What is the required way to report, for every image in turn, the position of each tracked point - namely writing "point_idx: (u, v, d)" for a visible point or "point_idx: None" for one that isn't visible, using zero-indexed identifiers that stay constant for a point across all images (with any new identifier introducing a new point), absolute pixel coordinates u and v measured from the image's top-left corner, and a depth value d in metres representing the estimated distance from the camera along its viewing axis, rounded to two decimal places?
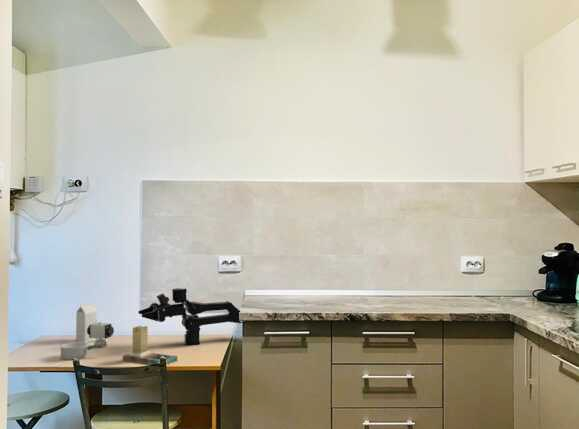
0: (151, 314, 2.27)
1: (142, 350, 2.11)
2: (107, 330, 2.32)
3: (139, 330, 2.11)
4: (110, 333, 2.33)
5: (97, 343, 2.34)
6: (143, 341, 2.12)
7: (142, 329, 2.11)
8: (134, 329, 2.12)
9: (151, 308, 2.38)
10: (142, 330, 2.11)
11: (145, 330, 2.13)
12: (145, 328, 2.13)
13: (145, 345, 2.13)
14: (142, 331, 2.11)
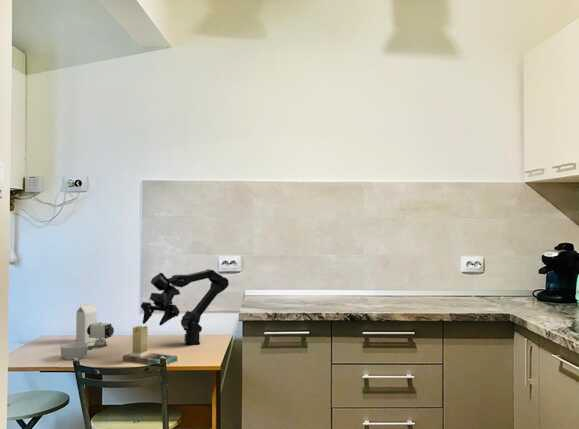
0: (166, 317, 2.21)
1: (142, 350, 2.11)
2: (107, 330, 2.32)
3: (139, 330, 2.11)
4: (110, 333, 2.33)
5: (97, 343, 2.34)
6: (143, 341, 2.12)
7: (142, 329, 2.11)
8: (134, 329, 2.12)
9: (148, 310, 2.26)
10: (142, 330, 2.11)
11: (145, 330, 2.13)
12: (145, 328, 2.13)
13: (145, 345, 2.13)
14: (142, 331, 2.11)
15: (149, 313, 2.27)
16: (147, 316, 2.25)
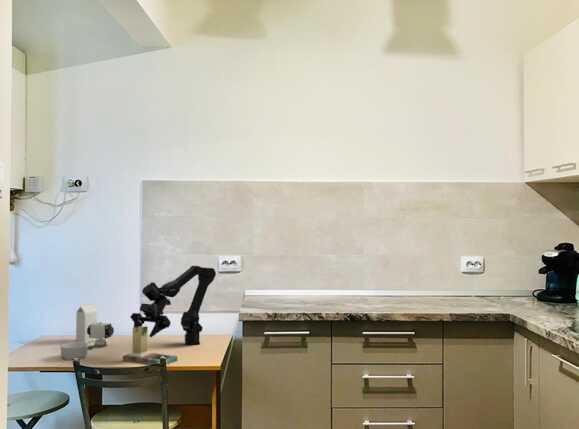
0: (156, 328, 2.15)
1: (142, 350, 2.11)
2: (107, 330, 2.32)
3: (139, 330, 2.11)
4: (110, 333, 2.33)
5: (97, 343, 2.34)
6: (143, 341, 2.12)
7: (142, 329, 2.11)
8: (134, 329, 2.12)
9: (138, 321, 2.20)
10: (142, 330, 2.11)
11: (145, 330, 2.13)
12: (145, 328, 2.13)
13: (145, 345, 2.13)
14: (142, 331, 2.11)
15: (139, 324, 2.21)
16: None
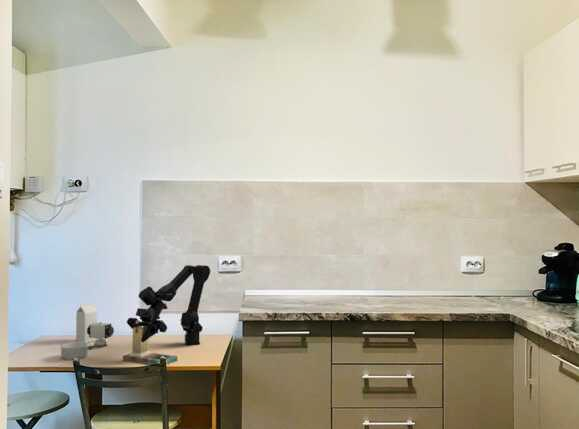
0: (148, 333, 2.13)
1: (142, 350, 2.11)
2: (107, 330, 2.32)
3: (139, 330, 2.11)
4: (110, 333, 2.33)
5: (97, 343, 2.34)
6: None
7: (142, 329, 2.11)
8: (134, 329, 2.12)
9: None
10: (142, 330, 2.11)
11: (145, 330, 2.13)
12: (145, 328, 2.13)
13: (145, 345, 2.13)
14: (142, 331, 2.11)
15: None
16: None
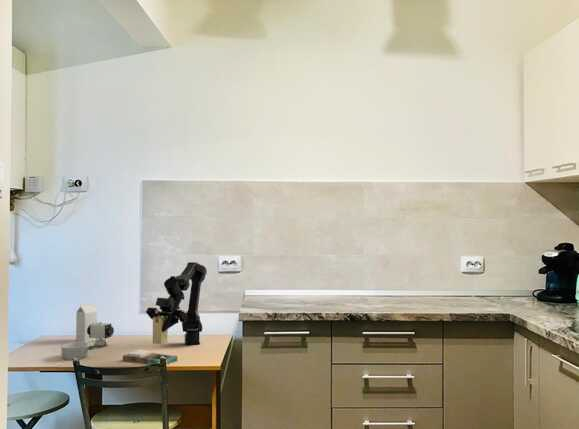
0: (169, 322, 2.09)
1: (162, 340, 2.07)
2: (107, 330, 2.32)
3: (159, 320, 2.07)
4: (110, 333, 2.33)
5: (97, 343, 2.34)
6: None
7: (162, 319, 2.07)
8: (154, 319, 2.08)
9: None
10: (162, 320, 2.07)
11: (165, 320, 2.09)
12: (165, 318, 2.09)
13: (165, 335, 2.09)
14: (162, 321, 2.07)
15: None
16: None
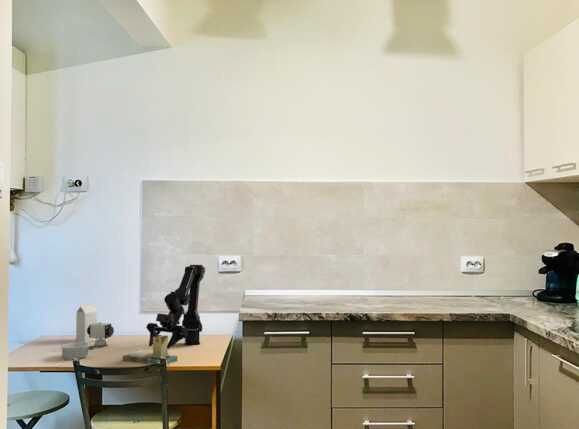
0: (173, 339, 2.08)
1: None
2: (107, 330, 2.32)
3: (159, 339, 2.06)
4: (110, 333, 2.33)
5: (97, 343, 2.34)
6: (164, 351, 2.07)
7: (162, 338, 2.07)
8: (154, 338, 2.07)
9: (154, 332, 2.13)
10: (162, 339, 2.07)
11: (165, 339, 2.09)
12: (165, 337, 2.09)
13: (166, 355, 2.09)
14: (162, 340, 2.07)
15: (155, 335, 2.14)
16: None
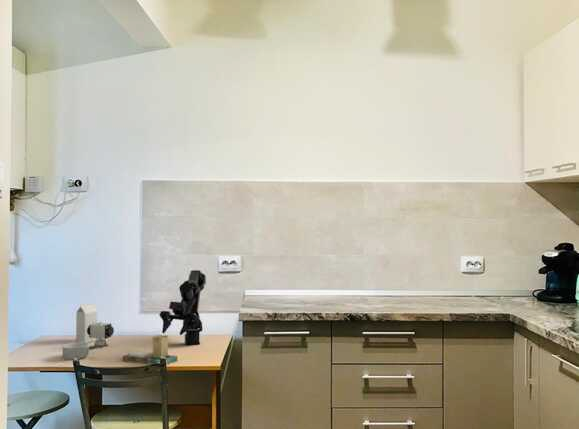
0: (186, 326, 2.17)
1: None
2: (107, 330, 2.32)
3: (159, 339, 2.06)
4: (110, 333, 2.33)
5: (97, 343, 2.34)
6: (164, 351, 2.08)
7: (162, 338, 2.07)
8: (154, 338, 2.07)
9: (167, 319, 2.22)
10: (162, 339, 2.07)
11: (165, 339, 2.09)
12: (165, 337, 2.09)
13: (166, 355, 2.09)
14: (162, 340, 2.07)
15: (168, 322, 2.23)
16: (166, 325, 2.21)
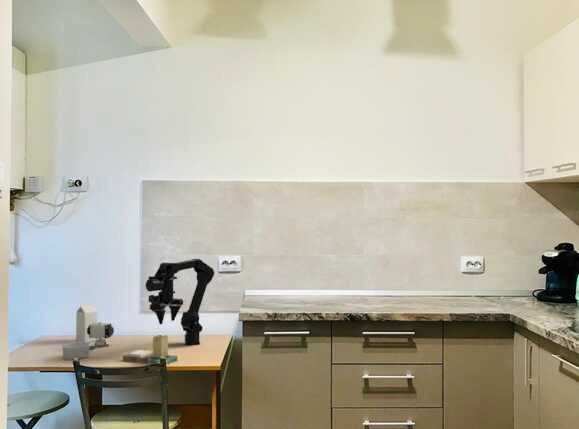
0: (158, 315, 2.24)
1: None
2: (107, 330, 2.32)
3: (159, 339, 2.06)
4: (110, 333, 2.33)
5: (97, 343, 2.34)
6: (164, 351, 2.07)
7: (162, 338, 2.07)
8: (154, 338, 2.07)
9: (171, 307, 2.34)
10: (162, 339, 2.07)
11: (165, 339, 2.09)
12: (165, 337, 2.09)
13: (166, 355, 2.09)
14: (162, 340, 2.07)
15: (174, 308, 2.33)
16: (173, 312, 2.33)
